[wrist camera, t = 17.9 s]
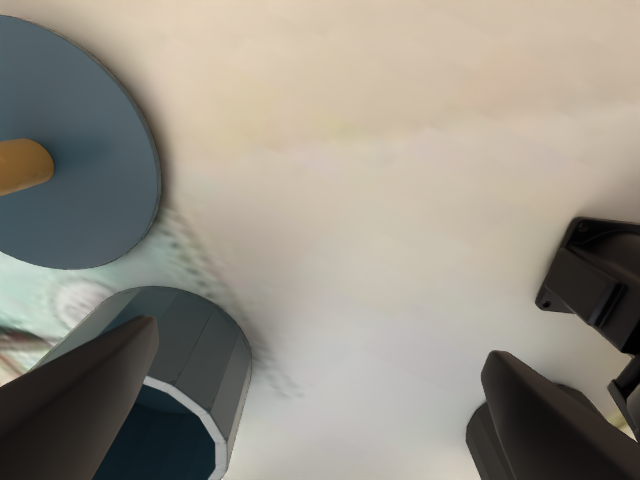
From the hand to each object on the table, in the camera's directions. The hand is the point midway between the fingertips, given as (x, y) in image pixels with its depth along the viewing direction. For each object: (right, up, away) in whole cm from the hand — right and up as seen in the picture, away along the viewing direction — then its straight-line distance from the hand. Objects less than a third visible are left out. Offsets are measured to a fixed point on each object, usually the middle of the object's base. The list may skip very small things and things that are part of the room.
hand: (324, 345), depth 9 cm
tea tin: (-11, -6, +16) cm, 20 cm away
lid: (-16, +7, +9) cm, 20 cm away
